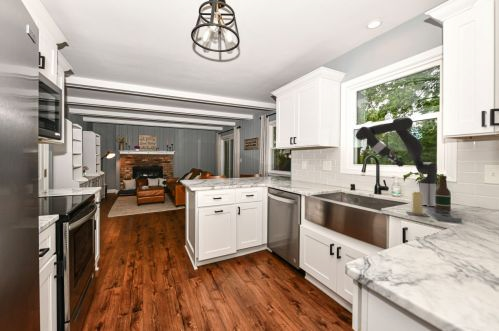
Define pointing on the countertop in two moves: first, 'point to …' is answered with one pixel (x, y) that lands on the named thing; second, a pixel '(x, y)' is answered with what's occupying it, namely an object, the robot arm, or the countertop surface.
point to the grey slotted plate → (443, 215)
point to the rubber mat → (417, 215)
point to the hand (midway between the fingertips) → (401, 165)
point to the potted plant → (443, 195)
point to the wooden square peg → (417, 203)
